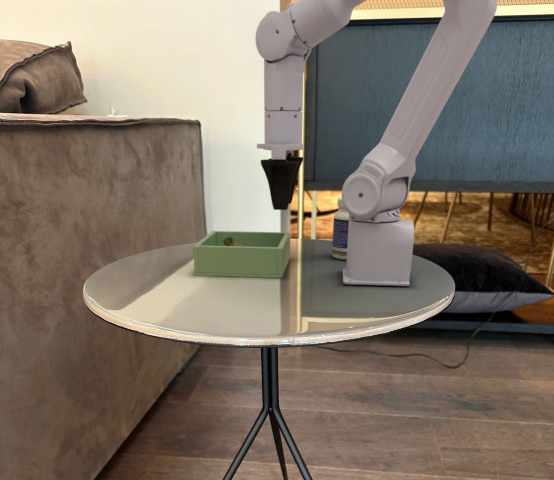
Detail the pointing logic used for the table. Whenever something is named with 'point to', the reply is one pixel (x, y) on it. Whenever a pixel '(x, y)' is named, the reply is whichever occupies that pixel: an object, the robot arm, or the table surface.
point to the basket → (242, 254)
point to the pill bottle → (340, 232)
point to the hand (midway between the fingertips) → (282, 206)
